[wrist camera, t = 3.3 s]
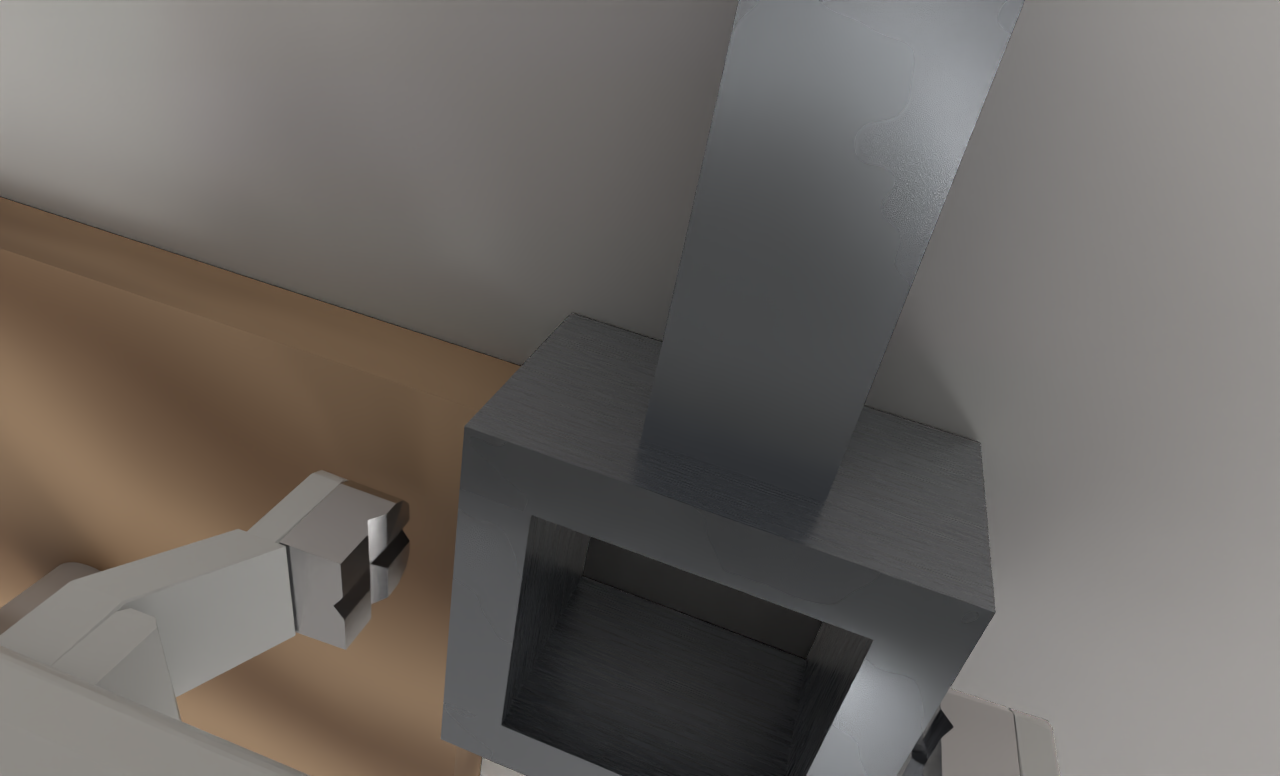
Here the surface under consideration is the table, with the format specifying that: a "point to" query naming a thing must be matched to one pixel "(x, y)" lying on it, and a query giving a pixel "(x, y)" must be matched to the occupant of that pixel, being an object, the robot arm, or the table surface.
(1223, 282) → the table surface
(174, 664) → the robot arm
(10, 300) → the base
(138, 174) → the table surface
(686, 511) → the square loop paddle
